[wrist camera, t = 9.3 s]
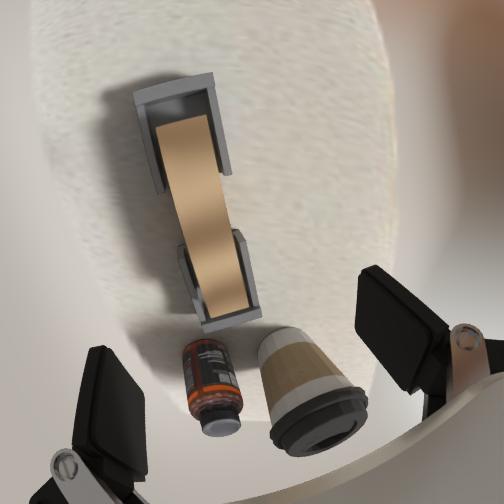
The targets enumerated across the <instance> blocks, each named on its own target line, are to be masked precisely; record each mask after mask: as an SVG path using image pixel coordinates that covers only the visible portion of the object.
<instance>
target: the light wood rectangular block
mask: <svg viewBox="0 0 504 504" xmlns="http://www.w3.org/2000/svg"><path fill="white" fill-rule="evenodd" d="M156 133H157V137H158V141H159V146H160V150H161V154H162V158H163V162H164V166H165V170H166V174H167V178H168V182H169V185H170V189H171V193H172V196H173V200H174V204H175V207H176V211H177V214H178V218H179V221H180V225H181V228H182V232H183V235H184V238H185V241H186V245H187V248H188V251H189V254H190V258H191V261H192V264H193V267H194V270H195V273H196V276H197V279H198V282H199V285H200V288H201V291H202V294H203V297H204V300H205V303H206V306H207V309H208V312H209V314H210V317H211V318H213V317H217V316H220V315H224V314H227V313H231V312H234V311H238V310H241V309H244V308H248V307H249V304H248V300H247V295H246V291H245V287H244V283H243V278H242V274H241V270H240V266H239V261H238V257H237V253H236V248H235V244H234V240H233V235H232V231H231V226H230V222H229V217H228V213H227V208H226V204H225V199H224V195H223V190H222V186H221V181H220V177H219V172H218V167H217V163H216V158H215V154H214V149H213V144H212V139H211V135H210V130H209V125H208V120H207V115H202V116H198V117H193V118H189V119H185V120H181V121H177V122H173V123H170V124H166V125H163V126H159V127H156Z"/></svg>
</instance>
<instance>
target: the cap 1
mask: <svg viewBox="0 0 504 504" xmlns="http://www.w3.org/2000/svg"><path fill="white" fill-rule="evenodd" d="M133 97H134V102H135V106H136V109H137V114H138V118H139V123H140V127H141V132H142V136H143V141H144V145H145V149H146V153H147V157H148V161H149V165H150V169H151V173H152V176H153V180H154V184H155V187H156V191H157V194H161V193H164V192H165V189H166V187H169V186H170V185H169V182H168V178H167V174H166V170H165V166H164V162H163V158H162V154H161V150H160V146H159V141H158V137H157V133H156V127H159V126H163V125H166V124H170V123H173V122H177V121H181V120H185V119H189V118H193V117H198V116H202V115H207V120H208V125H209V130H210V135H211V139H212V144H213V149H214V154H215V158H216V163H217V167H218V172H219V173H222V174H223V175H224V176H228V175H232V170H231V165H230V160H229V155H228V151H227V146H226V141H225V136H224V131H223V126H222V121H221V116H220V111H219V106H218V101H217V96H216V91H215V82H214V77H213V72H210V73H205V74H200V75H195V76H190V77H185V78H181V79H177V80H173V81H169V82H165V83H161V84H157V85H154V86H150V87H147V88H143V89H140V90H137V91H134V92H133Z"/></svg>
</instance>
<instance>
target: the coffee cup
mask: <svg viewBox="0 0 504 504" xmlns="http://www.w3.org/2000/svg"><path fill="white" fill-rule="evenodd" d="M258 363H259V368H260V373H261V377H262V382H263V387H264V392H265V396H266V401H267V406H268V410H269V415H270V419H271V424H272V429H271V430H270V439H272V440H273V444H274V445H275V446H276V447H277V448H279V449H283V450H285V451H286V453H287V454H288V455H290V456H293V457H305V456H310V455H314V454H318V453H320V452H323V451H326V450H328V449H330V448H332V447H334V446H336V445H338V444H340V443H342V442H343V441H345V440H347V439H348V438H350V437H351V436H352V435H353V434H355V433H356V432H357V431H358V430H359V429H360V428H361V427H362V426H363V425H364V423H365V422H366V420H367V417H368V414H367V411H366V408H367V406H368V397H367V396H366V395H365V391H364V390H363V389H362V388H360V387H354V385H353V384H352V383H351V382H350V381H349V380H348V379H347V378H346V377H345V376H344V374H343V373H342V372H341V371H340V370H339V369H338V368H337V367H336V366H335V365H334V363H333V362H332V361H331V360H330V359H329V358H328V357H327V356H326V355H325V353H324V352H323V351H322V350H321V349H320V348H319V347H318V346H317V345H316V344H315V342H314V341H313V340H312V339H311V338H310V337H309V336H308V335H307V334H306V333H305V332H303V331H302V330H300V329H297V328H294V327H287V328H283V329H279V330H277V331H275V332H273V333H271V334H269V335H268V336H267V337H266V338H264V340H263V341H262V342H261V344H260V346H259V348H258Z"/></svg>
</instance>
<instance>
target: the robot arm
mask: <svg viewBox="0 0 504 504" xmlns="http://www.w3.org/2000/svg"><path fill="white" fill-rule="evenodd" d="M448 328H449V325H447V324H446V323H445V322H444V321H443V320H442V319H441V318H440V317H439V316H438V315H436V314H435V313H434V312H433V311H432V310H431V309H429V307H427V306H426V305H425V304H424V303H423V302H422V301H420V300H419V299H418V298H417V297H416V296H415V295H413V294H412V293H411V292H410V291H409V290H407V289H406V288H405V287H404V286H403V285H401V284H400V283H399V282H398V281H396V280H395V279H394V278H393V277H392V276H390V275H389V274H388V273H387V272H385V271H384V270H383V269H382V268H380V267H379V266H378V265H373V266H370V267H367V268H365V269H363V270H362V271H361V274H360V275H359V276H358V289H357V304H356V316H355V330H356V333H357V334H358V336H359V337H360V338H361V339H362V340H363V342H364V343H365V344H366V345H367V347H368V348H369V349H370V350H371V352H372V353H373V354H374V355H375V357H376V358H377V359H378V360H379V362H380V363H381V364H382V365H383V367H384V368H385V369H386V370H387V371H388V373H389V374H390V376H391V377H392V378H393V379H394V381H395V382H396V383H397V384H398V386H399V387H400V388H401V389H402V390H403V391H407V392H408V393H409V395H411V394H413V393H415V392H416V391H418V390H419V389H422V391H423V392H424V405H423V416H422V422H421V423H420V424H418V425H416V426H415V427H413V428H412V429H410V430H409V431H407V432H406V433H404V434H403V435H401V436H399V437H398V438H396V439H394V440H393V441H391V442H389V443H388V444H386V445H384V446H383V447H381V448H379V449H377V450H375V451H374V452H372V453H370V454H368V455H366V456H364V457H362V458H360V459H358V460H356V461H354V462H352V463H350V464H348V465H346V466H344V467H341V468H339V469H337V470H334V471H332V472H330V473H327V474H325V475H323V476H320V477H318V478H315V479H312V480H310V481H307V482H304V483H301V484H298V485H295V486H292V487H290V488H286V489H283V490H280V491H276V492H273V493H270V494H266V495H262V496H258V497H254V498H250V499H245V500H240V501H235V502H230V503H225V504H504V340H492V339H484V337H483V334H482V333H481V332H480V330H479V329H478V328H476V327H475V326H473V325H470V324H459V325H457V326H455V327H454V328H453V329H452V331H450V330H449V329H448ZM50 469H51V474H52V477H51V478H50V479H49V480H48V481H47V482H46V483H45V484H44V485H43V486H42V487H41V488H40V489H39V490H38V491H37V492H36V493H35V494H34V495H33V496H32V497H31V499H30V501H29V504H149V503H148V502H147V501H146V500H145V499H144V498H143V497H142V496H141V495H140V494H139V493H138V492H137V491H136V490H135V489H134V482H145V475H147V474H148V465H147V452H146V433H145V397H144V393H143V391H142V390H141V388H140V387H139V386H138V385H137V383H136V382H135V381H134V380H133V378H132V377H131V376H130V374H129V373H128V372H127V370H126V369H125V368H124V366H123V365H122V363H121V362H120V361H119V360H118V358H117V357H116V356H115V354H114V352H113V351H112V349H110V348H107V347H106V346H104V345H101V346H97V347H92V348H90V349H89V352H88V356H87V360H86V364H85V368H84V373H83V377H82V382H81V387H80V392H79V397H78V403H77V409H76V415H75V421H74V429H73V437H72V450H71V449H67V448H65V449H61V450H59V451H57V452H56V453H55V454H54V456H53V458H52V460H51V464H50Z"/></svg>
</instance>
